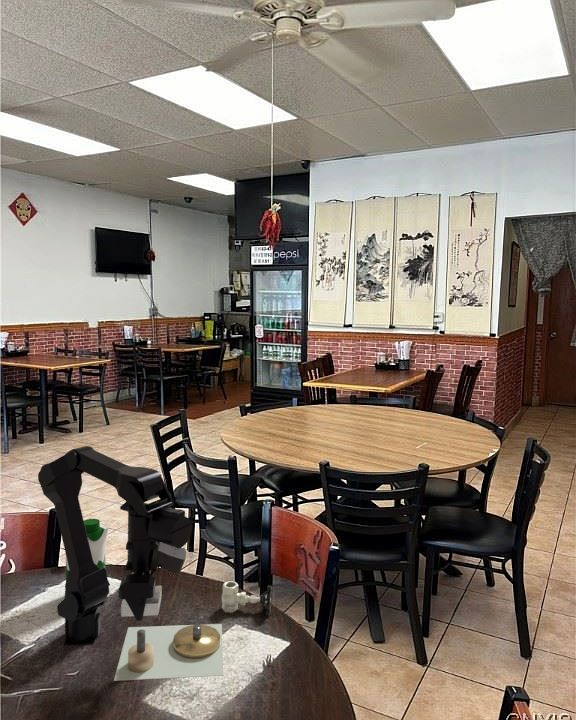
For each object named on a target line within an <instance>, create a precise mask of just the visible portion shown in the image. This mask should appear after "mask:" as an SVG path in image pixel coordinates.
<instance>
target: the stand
mask: <svg viewBox="0 0 576 720" xmlns="http://www.w3.org/2000/svg"><path fill="white" fill-rule="evenodd" d="M153 663H154V648H153V646H152V645H150V644H147V643H145V630H138V631H137V644H136V645H134V646H132V647H131V648H130V649H129V651H128V669H129V670H130V671H132V672H135V673H141V672H145V671H148V670H149V669H151V668H152V666H153Z"/></svg>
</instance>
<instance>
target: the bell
mask: <svg viewBox="0 0 576 720" xmlns="http://www.w3.org/2000/svg"><path fill="white" fill-rule="evenodd" d="M190 625H191V626H187V627H185V628H182V629H181V630H179V631H178V632H177V633H176V634H175V635H174V638H173V649H174V651H175V652H176V653H177V654H178V655H179V656H181V657H184V658H188V659H201V658H205V657H208V656H210V655H212V654H214V653H215V652H216V651H217V650H218V649H219V647H220V634H219V632H218V631H217V630H216V629H215V628H213V627H210V626H207V625H204V624H190Z"/></svg>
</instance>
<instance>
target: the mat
mask: <svg viewBox="0 0 576 720" xmlns="http://www.w3.org/2000/svg"><path fill="white" fill-rule="evenodd" d="M191 625H192V624H189V625H188V624H187V625H186V624H185V625H179V624H178V625H161V626H159V625H157V626H153V625H152V626H130V627H129V626H128V627H127V631H126V635H125V638H124V642H123V645H122V649H121V653H120V655H119V656H120V657H119V660H118V664H117V667H116V672H115V675H114V678H113V681H114V682H119V681H138V680H156V679H157V680H158V679H160V680H161V679H178V678H197V677H198V678H200V677H217V676H218V677H219V676H220V677H221V676H224V658H223V657H224V655H223V654H224V652H223V651H224V649H223V624H222V623H211V624H210V623H207V624H203V625H207V626H210V627H213V628H215V629H216V630H217V631H218V632H219V634H220V647H219V649H218V650H217V651H216V652H215V653H214V654H212V655H210V656H208V657H205V658H201V659H188V658H184V657H181V656H179V655H178V654H177V653H176V652H175V651H174V649H173V638H174V635H175V634H176V633H177V632H178V631H179V630H181V629H182V628H185V627H187V626H191ZM138 630H145V643H147V644H150V645H152V646H153V648H154V663H153V666H152V668H151V669H149V670H148V671H145V672H141V673H135V672H132V671H130V670H129V669H128V651H129V649H130V648H131V647H132V646H134V645H136V644H137V631H138Z"/></svg>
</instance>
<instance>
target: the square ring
mask: <svg viewBox="0 0 576 720" xmlns="http://www.w3.org/2000/svg"><path fill="white" fill-rule="evenodd" d="M162 589H163V586H162V585H155V591H154V596H153V597H152V598H150V599H146V604H145V609H144V614H143V617H146V616H147V617H148V616H158V615H159V611H160V607H161V603H162V596H163V595H162V594H163V593H162ZM120 610H121V611H120V617H122V618H123V617H134V615H133V613H132V611H131V609H130V607H129V605H128V604H127V602H126V600H125V599H122V600H121V606H120Z"/></svg>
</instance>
